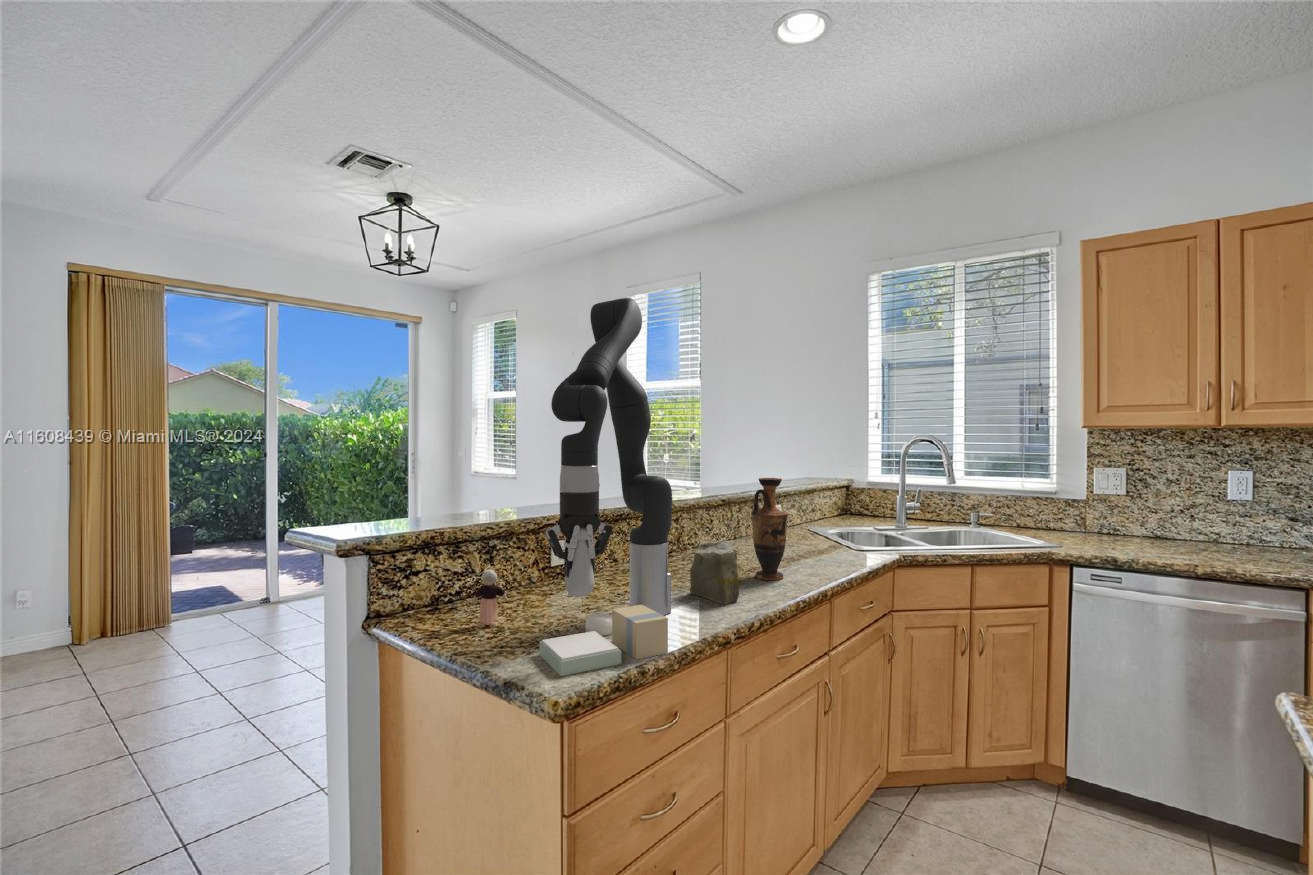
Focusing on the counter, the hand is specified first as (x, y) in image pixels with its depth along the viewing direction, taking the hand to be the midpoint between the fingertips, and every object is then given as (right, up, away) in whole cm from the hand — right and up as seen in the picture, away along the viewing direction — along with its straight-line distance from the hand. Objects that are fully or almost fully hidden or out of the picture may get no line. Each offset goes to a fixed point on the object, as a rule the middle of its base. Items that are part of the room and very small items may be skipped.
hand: (579, 577), depth 118 cm
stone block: (+32, -16, +45) cm, 58 cm away
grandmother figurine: (-23, -16, +20) cm, 34 cm away
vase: (+49, -15, +66) cm, 84 cm away
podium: (0, -16, 0) cm, 16 cm away
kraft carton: (+11, -16, +6) cm, 20 cm away
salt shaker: (0, -3, 0) cm, 3 cm away
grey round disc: (+3, -16, +16) cm, 23 cm away
